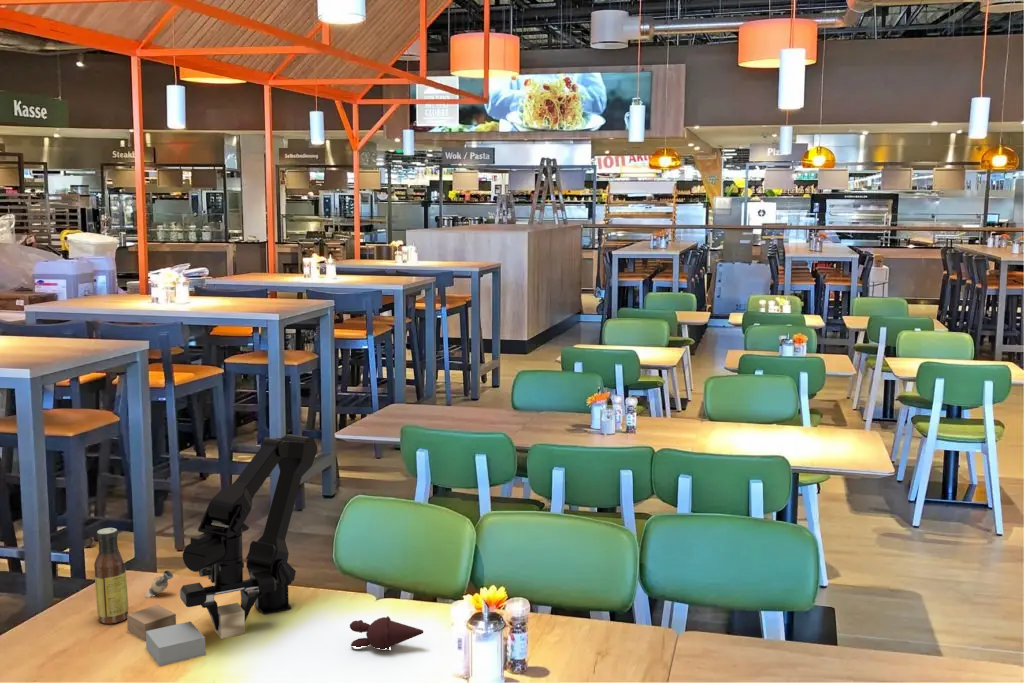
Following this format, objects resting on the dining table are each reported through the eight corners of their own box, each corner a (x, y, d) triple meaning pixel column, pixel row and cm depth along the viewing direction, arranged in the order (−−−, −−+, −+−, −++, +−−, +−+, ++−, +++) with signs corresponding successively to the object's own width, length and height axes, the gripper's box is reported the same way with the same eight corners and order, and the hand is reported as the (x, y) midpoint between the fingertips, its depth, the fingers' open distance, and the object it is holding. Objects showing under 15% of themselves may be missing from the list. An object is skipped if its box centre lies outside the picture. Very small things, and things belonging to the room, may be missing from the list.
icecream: (424, 611, 208) (352, 615, 208) (420, 617, 201) (346, 621, 201) (426, 645, 207) (354, 649, 208) (422, 652, 200) (347, 656, 200)
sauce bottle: (134, 614, 218) (131, 526, 215) (120, 626, 212) (117, 536, 209) (105, 612, 219) (102, 524, 216) (90, 624, 213) (87, 534, 210)
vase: (178, 591, 231) (177, 567, 230) (166, 602, 226) (165, 578, 224) (157, 589, 232) (156, 565, 231) (144, 600, 227) (143, 575, 225)
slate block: (190, 639, 207) (190, 621, 207) (205, 656, 200) (204, 637, 200) (146, 650, 202) (145, 631, 202) (159, 667, 195) (159, 648, 194)
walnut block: (158, 622, 215) (157, 604, 214) (176, 631, 211) (175, 613, 210) (127, 632, 210) (127, 614, 209) (145, 642, 205) (144, 624, 205)
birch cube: (237, 624, 214) (237, 602, 213) (244, 633, 210) (244, 611, 209) (214, 629, 212) (213, 607, 211) (220, 638, 207) (220, 615, 207)
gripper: (260, 537, 220) (260, 604, 222) (172, 551, 210) (174, 621, 212) (276, 553, 211) (277, 623, 213) (186, 568, 201) (187, 642, 203)
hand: (229, 627), depth 211 cm, fingers closed on birch cube, 5 cm apart
